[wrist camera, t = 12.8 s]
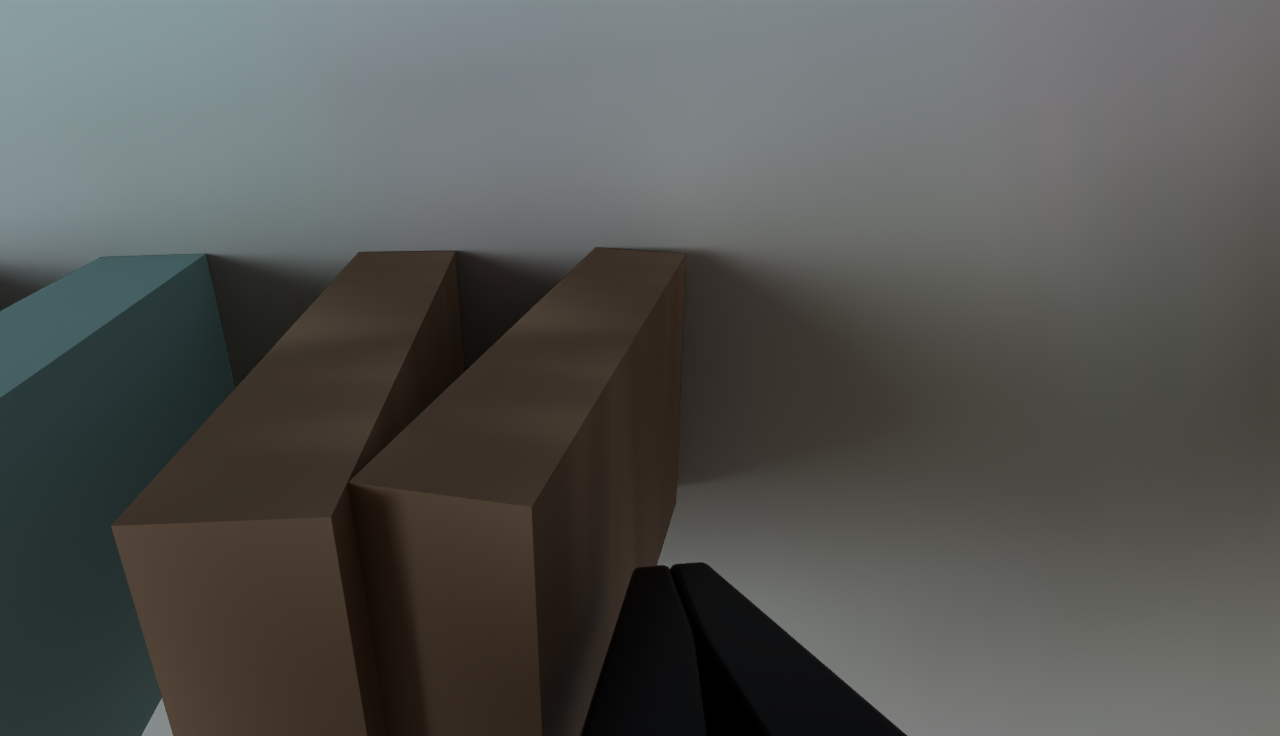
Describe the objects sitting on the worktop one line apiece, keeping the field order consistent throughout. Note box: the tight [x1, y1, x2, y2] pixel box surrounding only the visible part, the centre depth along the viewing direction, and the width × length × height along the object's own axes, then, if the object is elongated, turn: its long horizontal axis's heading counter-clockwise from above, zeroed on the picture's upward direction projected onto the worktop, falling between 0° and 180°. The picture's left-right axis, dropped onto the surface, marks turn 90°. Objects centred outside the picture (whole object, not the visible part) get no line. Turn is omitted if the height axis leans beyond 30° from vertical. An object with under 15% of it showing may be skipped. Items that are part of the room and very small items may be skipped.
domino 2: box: [348, 248, 686, 736], centre depth 11 cm, size 2×5×8 cm, turn 0°
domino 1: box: [111, 251, 465, 736], centre depth 11 cm, size 2×5×8 cm, turn 179°
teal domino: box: [0, 254, 236, 736], centre depth 10 cm, size 2×5×8 cm, turn 179°
